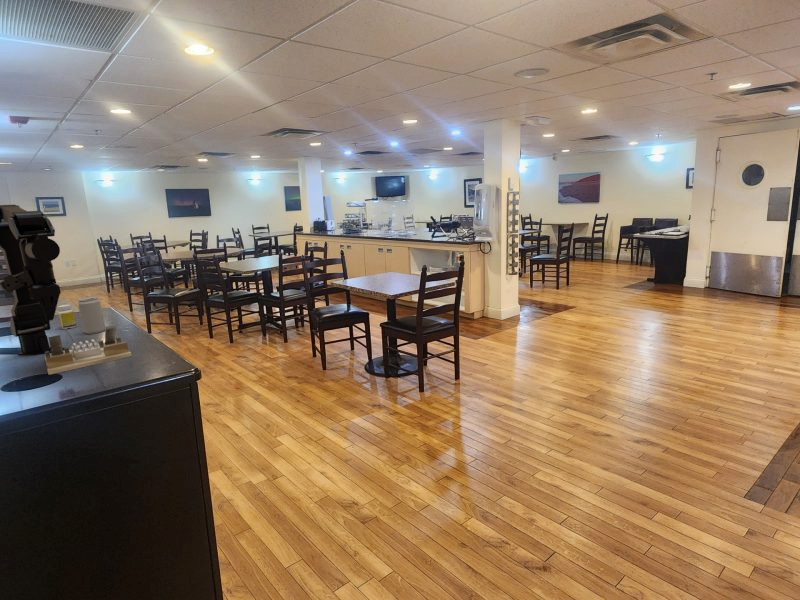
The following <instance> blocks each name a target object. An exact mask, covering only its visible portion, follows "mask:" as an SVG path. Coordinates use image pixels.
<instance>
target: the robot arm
mask: <svg viewBox="0 0 800 600" xmlns="http://www.w3.org/2000/svg"><path fill="white" fill-rule="evenodd" d="M55 230H56V229H55V227H54V226H53V223H52V222H51V220H50V219H49V218H48V216H47V215H46V214H44V212H43V211H41V210H26V209H24V208H22V207H20V205H17V204H0V251H1V252H2V254H3V257H4V262H5V265H6V270H7V274H8V275H6V276H3V280H0V287H1V288H2V290H3V291H4V292H5V293H6V294H7V295H8V294H11V293H13V296H14V304H13V305H12V307H11V310H10V312H11V316H10V332H11V334H12V336H13V337H18V341H19V345H20V349H21V352H18V353H17V356H31V355H39V354H42V353H45V352H46V351H49V350H50V351H51V347H50V342H49V337H48V335H47V333H46V331H50V330H51V324H50V323H51V322H50V321H53V320H55V319H54V318H55V316H56V315H55V314H56V310H57V308H58V303H59V300H60V295H61V294H62V292H61V286H60V285H59V284H57V279H56V277H55V272H54V268H53V267H54V266H53V262H52V261H55V260H56V259H58V257H59V255H60V253H61V248H60V245H59V244H58V243H57V241H55V240H53V239H51V238H49V237H55V233H56V231H55Z"/></svg>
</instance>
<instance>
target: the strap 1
mask: <svg viewBox="0 0 800 600" xmlns="http://www.w3.org/2000/svg"><path fill="white" fill-rule="evenodd" d="M61 338H62V337H61V335H60V334H59V335H53V336H49V337H48V342H49V347H51V349H50V351H51V353H50V354H51V355H52V356H57V355H62V354H64V352H63V351H64V349H63V344H62V339H61Z"/></svg>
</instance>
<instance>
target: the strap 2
mask: <svg viewBox="0 0 800 600" xmlns="http://www.w3.org/2000/svg"><path fill="white" fill-rule="evenodd" d="M116 333H117V326H116V324H113V325H107V326H106V325H105V329H104V341H103V343H105V345H110V344H115V343H116V335H117V334H116Z"/></svg>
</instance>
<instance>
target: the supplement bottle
mask: <svg viewBox="0 0 800 600" xmlns="http://www.w3.org/2000/svg"><path fill="white" fill-rule="evenodd" d="M57 310H58V312H57V317H58V320H59V321H58V322H59V325H60V329H61V330H68V329H67V328H71V329H74V328H77V322H76V318H75V313H74V309H72V305H71V304H62V305H57ZM73 327H74V328H73Z"/></svg>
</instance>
